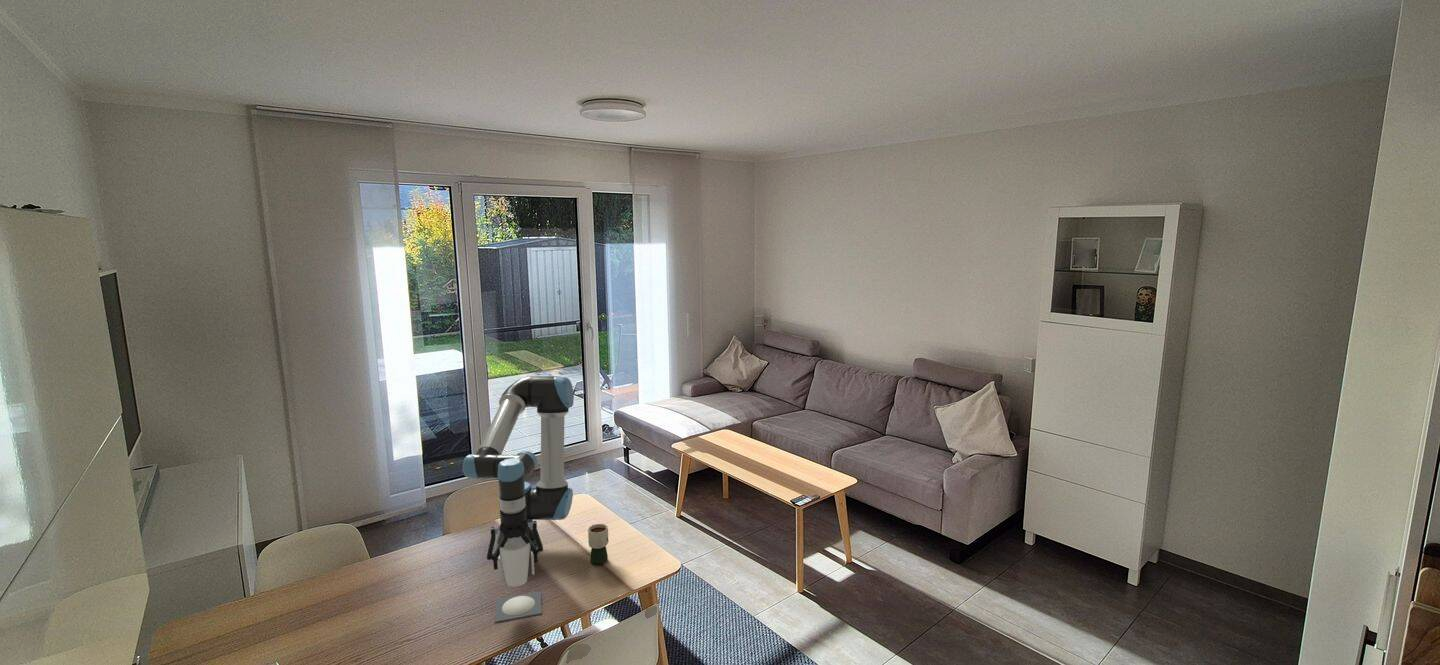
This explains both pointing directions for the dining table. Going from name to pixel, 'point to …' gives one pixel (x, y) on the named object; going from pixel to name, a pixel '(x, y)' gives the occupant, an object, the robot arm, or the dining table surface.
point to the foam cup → (515, 561)
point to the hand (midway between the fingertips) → (516, 574)
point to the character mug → (598, 543)
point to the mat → (518, 606)
